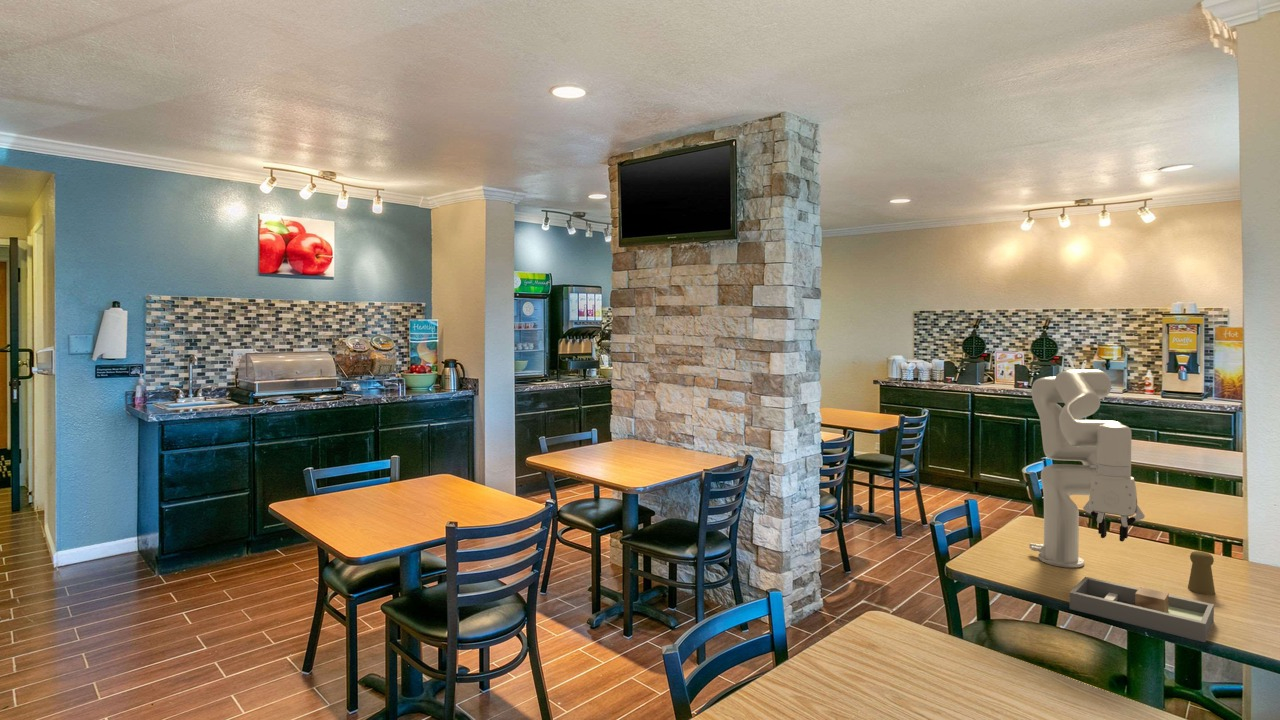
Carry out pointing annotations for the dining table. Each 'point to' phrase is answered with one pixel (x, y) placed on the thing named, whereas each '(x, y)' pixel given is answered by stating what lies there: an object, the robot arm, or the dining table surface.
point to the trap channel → (1143, 609)
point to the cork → (1201, 573)
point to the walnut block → (1152, 599)
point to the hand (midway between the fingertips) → (1112, 537)
